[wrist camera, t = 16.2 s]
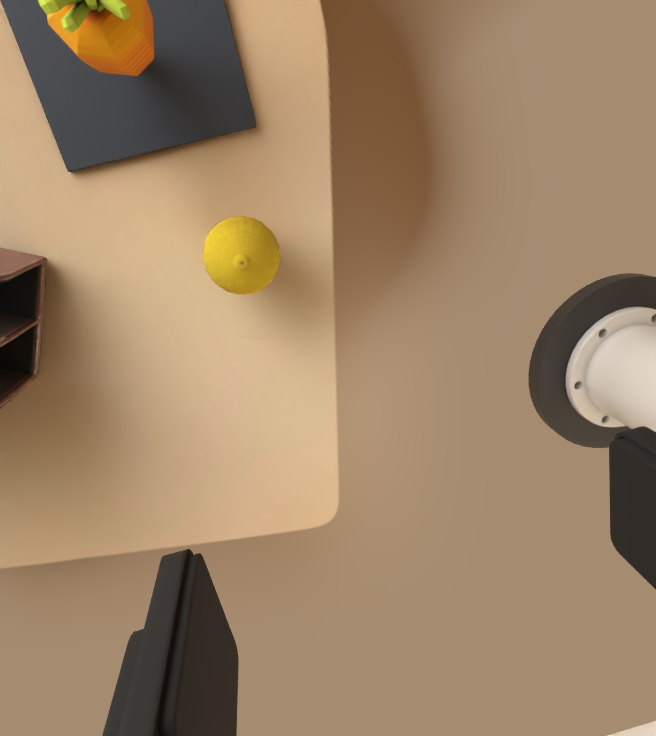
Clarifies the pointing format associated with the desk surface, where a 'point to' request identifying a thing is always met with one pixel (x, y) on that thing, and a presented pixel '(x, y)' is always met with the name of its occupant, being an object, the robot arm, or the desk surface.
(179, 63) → the mat
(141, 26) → the carrot
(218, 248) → the lemon
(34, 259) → the letter holder
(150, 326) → the desk surface
